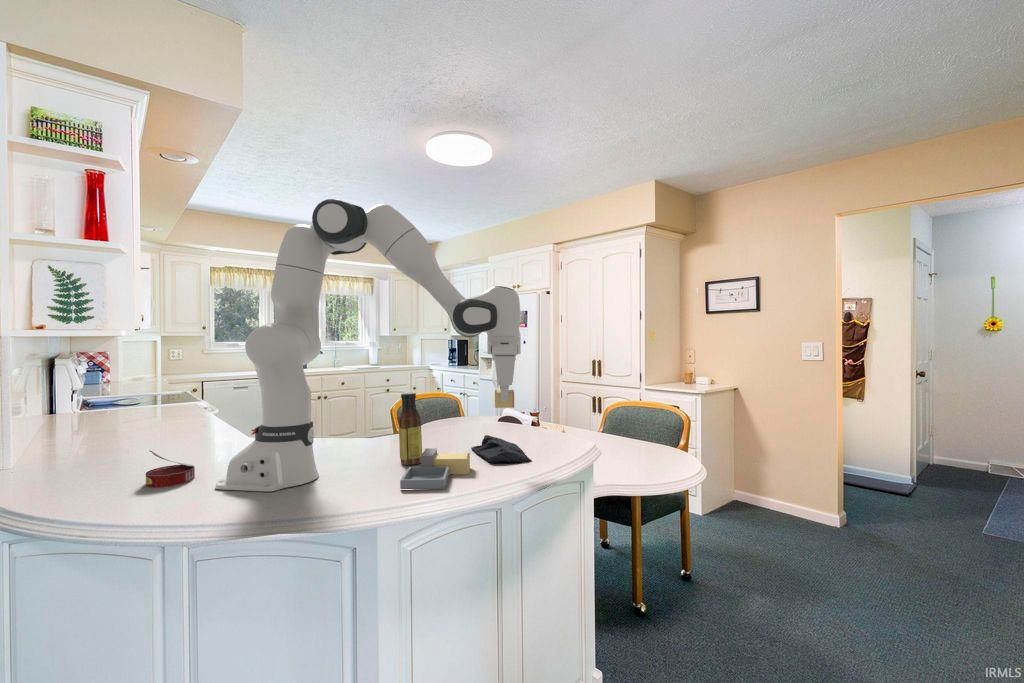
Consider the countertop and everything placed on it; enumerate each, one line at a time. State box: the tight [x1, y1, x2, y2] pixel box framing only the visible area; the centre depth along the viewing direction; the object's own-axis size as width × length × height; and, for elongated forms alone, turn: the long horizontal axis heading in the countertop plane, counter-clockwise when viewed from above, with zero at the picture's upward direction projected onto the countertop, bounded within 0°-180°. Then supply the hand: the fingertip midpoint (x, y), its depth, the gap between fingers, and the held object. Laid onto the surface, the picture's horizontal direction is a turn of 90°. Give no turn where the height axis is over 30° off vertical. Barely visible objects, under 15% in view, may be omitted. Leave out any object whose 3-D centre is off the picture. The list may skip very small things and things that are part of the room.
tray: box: [399, 466, 450, 490], centre depth 111 cm, size 10×11×2 cm
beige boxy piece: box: [420, 447, 471, 475], centre depth 121 cm, size 12×8×5 cm, turn 92°
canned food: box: [145, 450, 196, 489], centre depth 114 cm, size 11×10×10 cm
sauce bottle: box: [398, 392, 423, 466], centre depth 129 cm, size 7×6×20 cm
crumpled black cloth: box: [470, 434, 532, 464], centre depth 138 cm, size 15×22×5 cm
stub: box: [494, 389, 515, 409], centre depth 122 cm, size 5×6×4 cm
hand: (504, 399), depth 122 cm, fingers closed on stub, 6 cm apart
